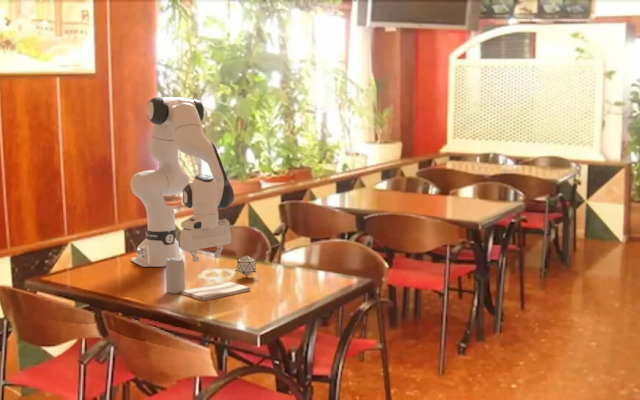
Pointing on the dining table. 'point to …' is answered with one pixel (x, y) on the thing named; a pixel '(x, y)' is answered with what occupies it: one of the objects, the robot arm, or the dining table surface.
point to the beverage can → (175, 275)
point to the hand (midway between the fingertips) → (206, 259)
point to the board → (215, 290)
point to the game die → (246, 265)
